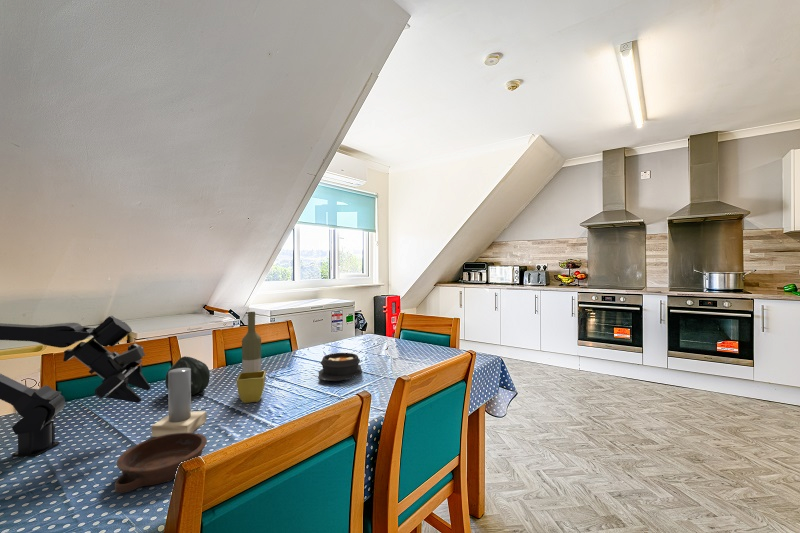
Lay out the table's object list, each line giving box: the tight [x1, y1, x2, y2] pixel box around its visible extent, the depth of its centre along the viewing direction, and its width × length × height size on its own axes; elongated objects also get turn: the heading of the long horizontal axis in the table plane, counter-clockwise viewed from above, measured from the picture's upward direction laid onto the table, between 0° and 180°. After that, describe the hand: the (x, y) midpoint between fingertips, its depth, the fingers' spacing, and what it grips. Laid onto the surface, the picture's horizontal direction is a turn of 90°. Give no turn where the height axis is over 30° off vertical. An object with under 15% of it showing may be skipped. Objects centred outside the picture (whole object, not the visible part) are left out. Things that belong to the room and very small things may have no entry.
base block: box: [150, 410, 207, 438], centre depth 106 cm, size 10×10×3 cm
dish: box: [114, 432, 208, 494], centre depth 85 cm, size 18×22×5 cm
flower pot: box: [236, 370, 266, 404], centre depth 128 cm, size 9×9×9 cm
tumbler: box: [167, 368, 192, 422], centre depth 106 cm, size 6×6×14 cm
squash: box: [164, 355, 211, 396], centre depth 135 cm, size 14×15×15 cm
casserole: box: [317, 352, 363, 382], centre depth 156 cm, size 25×19×8 cm
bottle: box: [241, 311, 262, 373], centre depth 138 cm, size 7×7×30 cm
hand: (144, 395), depth 103 cm, fingers open, 9 cm apart
